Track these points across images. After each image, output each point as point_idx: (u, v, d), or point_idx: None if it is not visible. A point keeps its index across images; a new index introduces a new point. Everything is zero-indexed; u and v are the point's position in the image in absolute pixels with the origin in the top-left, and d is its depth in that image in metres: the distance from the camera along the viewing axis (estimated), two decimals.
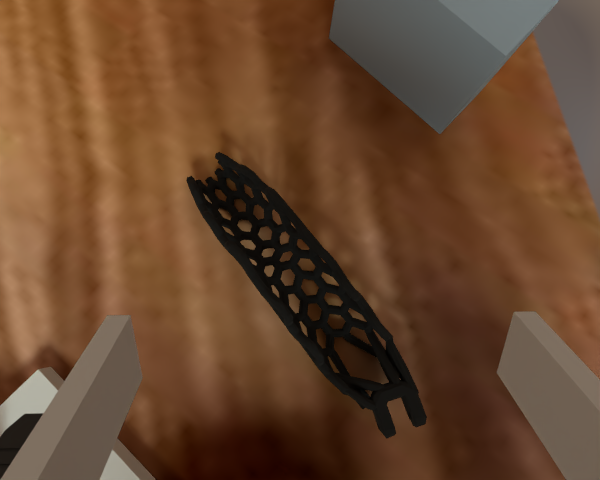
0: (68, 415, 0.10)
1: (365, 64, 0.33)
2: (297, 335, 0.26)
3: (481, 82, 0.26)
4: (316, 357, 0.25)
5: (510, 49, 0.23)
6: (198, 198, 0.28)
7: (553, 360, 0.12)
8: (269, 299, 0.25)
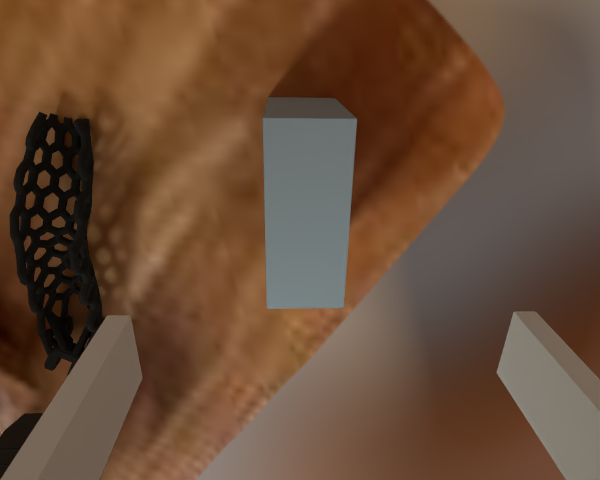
0: (68, 415, 0.10)
1: None
2: (29, 290, 0.33)
3: None
4: (31, 310, 0.33)
5: (274, 307, 0.27)
6: (28, 146, 0.29)
7: (553, 360, 0.12)
8: (17, 266, 0.30)
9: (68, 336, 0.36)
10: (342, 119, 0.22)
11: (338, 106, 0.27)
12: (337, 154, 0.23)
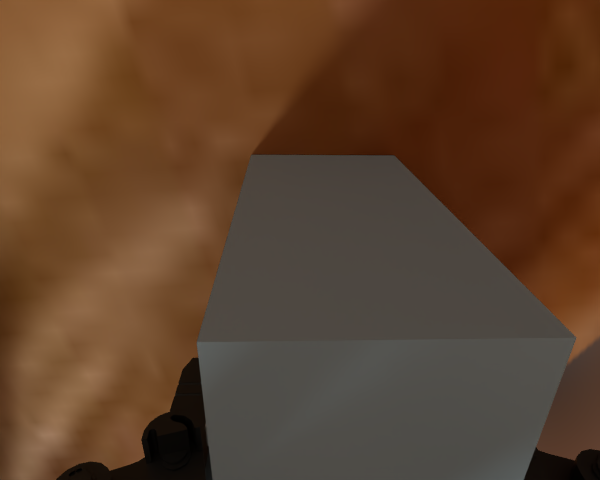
0: None
1: None
2: None
3: None
4: None
5: None
6: None
7: None
8: None
9: None
10: (517, 339, 0.06)
11: (429, 205, 0.10)
12: (476, 439, 0.06)
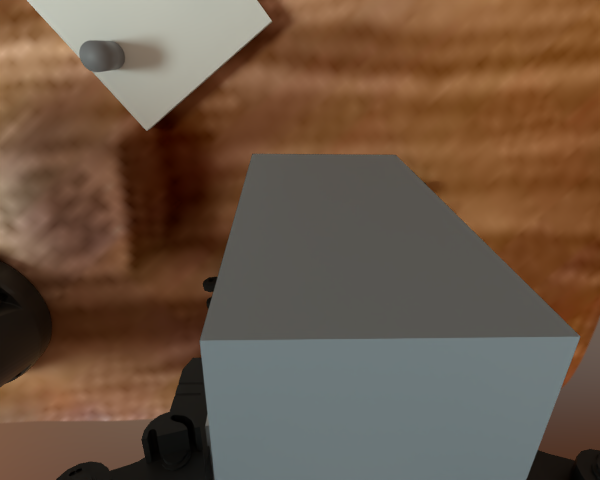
0: None
1: None
2: None
3: None
4: None
5: None
6: None
7: None
8: None
9: None
10: (521, 338, 0.06)
11: (431, 204, 0.10)
12: (479, 438, 0.06)
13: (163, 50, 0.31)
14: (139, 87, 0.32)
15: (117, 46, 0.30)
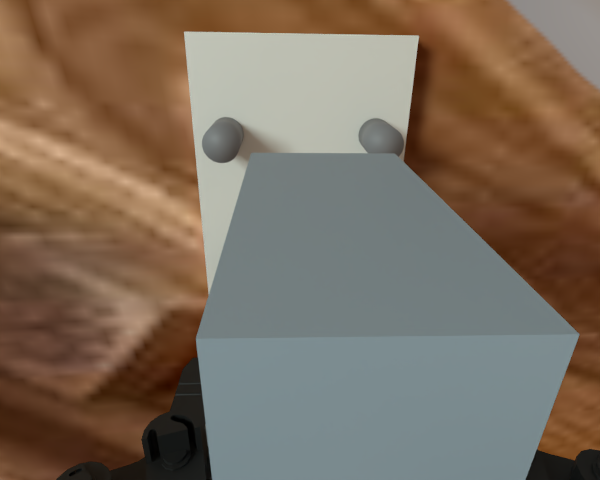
0: None
1: None
2: None
3: None
4: None
5: None
6: None
7: None
8: None
9: None
10: (520, 336, 0.05)
11: (430, 202, 0.10)
12: (478, 437, 0.06)
13: None
14: None
15: None
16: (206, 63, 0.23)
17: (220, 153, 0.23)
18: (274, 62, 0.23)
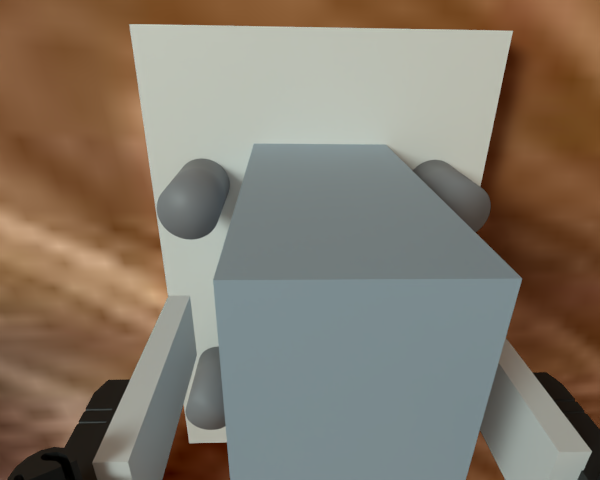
0: (153, 378, 0.11)
1: None
2: None
3: None
4: None
5: None
6: None
7: None
8: None
9: None
10: (474, 280, 0.07)
11: (413, 184, 0.11)
12: (444, 370, 0.08)
13: None
14: None
15: None
16: (167, 75, 0.14)
17: (187, 225, 0.14)
18: (278, 73, 0.15)
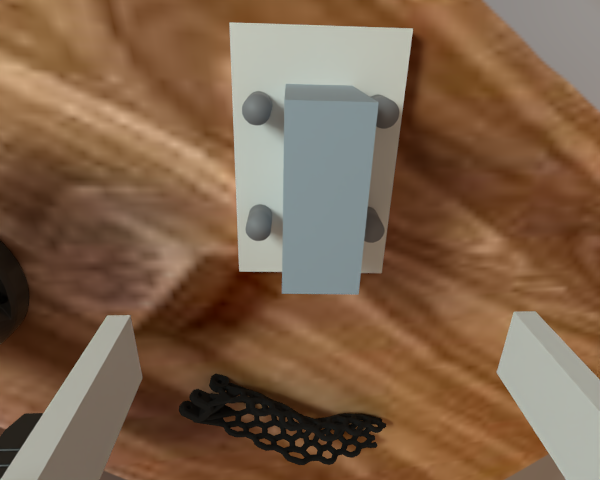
0: (68, 415, 0.10)
1: None
2: (272, 413, 0.42)
3: None
4: (255, 411, 0.42)
5: (289, 292, 0.27)
6: (371, 429, 0.45)
7: (553, 360, 0.12)
8: (298, 427, 0.41)
9: None
10: (363, 102, 0.22)
11: (357, 92, 0.27)
12: (357, 138, 0.23)
13: None
14: (260, 245, 0.37)
15: None
16: (245, 47, 0.30)
17: (255, 117, 0.29)
18: (299, 47, 0.30)
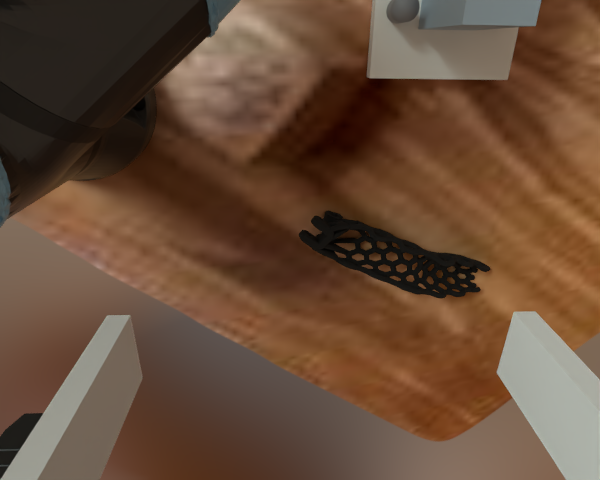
0: (68, 415, 0.10)
1: None
2: (391, 239, 0.43)
3: (447, 24, 0.30)
4: (375, 235, 0.42)
5: (469, 23, 0.28)
6: (479, 267, 0.46)
7: (553, 360, 0.12)
8: (418, 251, 0.42)
9: None
10: None
11: None
12: None
13: (432, 38, 0.37)
14: (393, 46, 0.37)
15: None
16: None
17: None
18: None
